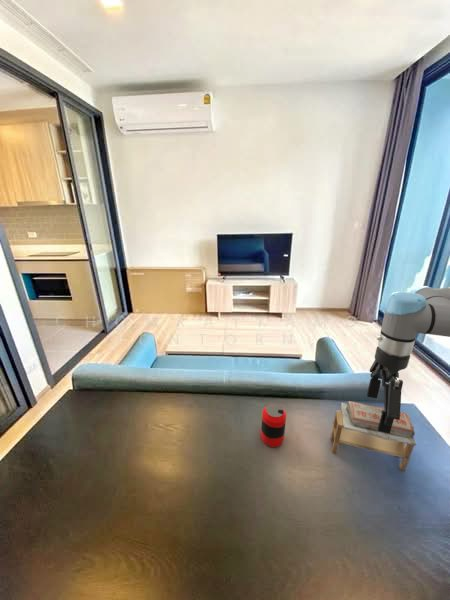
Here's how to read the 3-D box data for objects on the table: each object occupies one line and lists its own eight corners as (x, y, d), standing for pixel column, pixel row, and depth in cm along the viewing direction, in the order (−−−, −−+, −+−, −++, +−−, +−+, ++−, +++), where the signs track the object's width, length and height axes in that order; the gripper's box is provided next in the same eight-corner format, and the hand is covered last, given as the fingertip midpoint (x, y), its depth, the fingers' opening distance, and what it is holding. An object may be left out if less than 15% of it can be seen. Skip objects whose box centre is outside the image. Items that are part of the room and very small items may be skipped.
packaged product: (408, 407, 75) (420, 434, 66) (403, 419, 77) (415, 447, 68) (342, 394, 80) (346, 417, 71) (340, 405, 82) (343, 430, 73)
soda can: (282, 450, 80) (285, 422, 76) (258, 443, 82) (260, 415, 78) (284, 431, 87) (287, 404, 82) (263, 426, 89) (265, 399, 85)
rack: (398, 453, 79) (407, 424, 75) (404, 471, 74) (415, 441, 69) (330, 437, 85) (336, 409, 80) (332, 453, 79) (338, 424, 75)
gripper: (367, 327, 78) (355, 383, 85) (391, 376, 56) (373, 445, 63) (394, 330, 76) (380, 387, 83) (431, 382, 54) (407, 453, 61)
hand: (377, 412), depth 73 cm, fingers open, 13 cm apart
